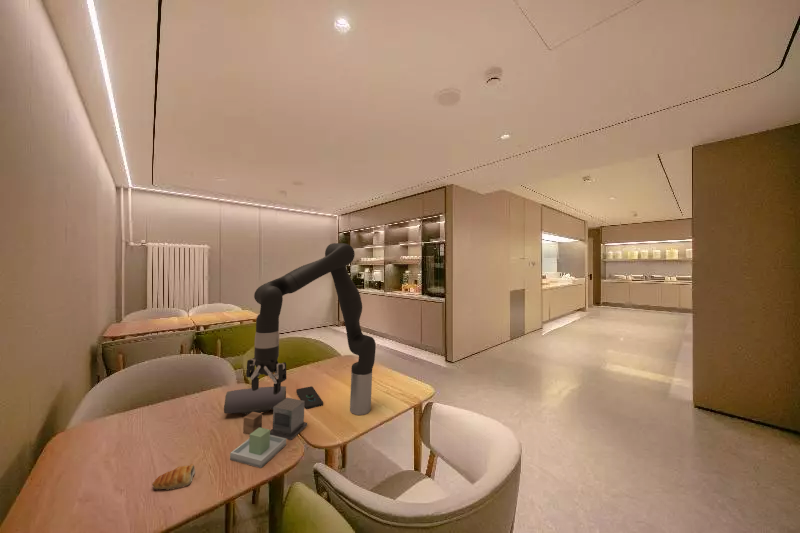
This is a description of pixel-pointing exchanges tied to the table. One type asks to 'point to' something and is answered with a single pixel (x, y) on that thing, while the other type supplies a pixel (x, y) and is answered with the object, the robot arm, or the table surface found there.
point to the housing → (288, 418)
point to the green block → (259, 441)
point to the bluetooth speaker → (253, 400)
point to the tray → (245, 457)
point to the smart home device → (309, 397)
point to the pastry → (175, 478)
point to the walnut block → (252, 422)
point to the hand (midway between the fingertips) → (265, 391)
